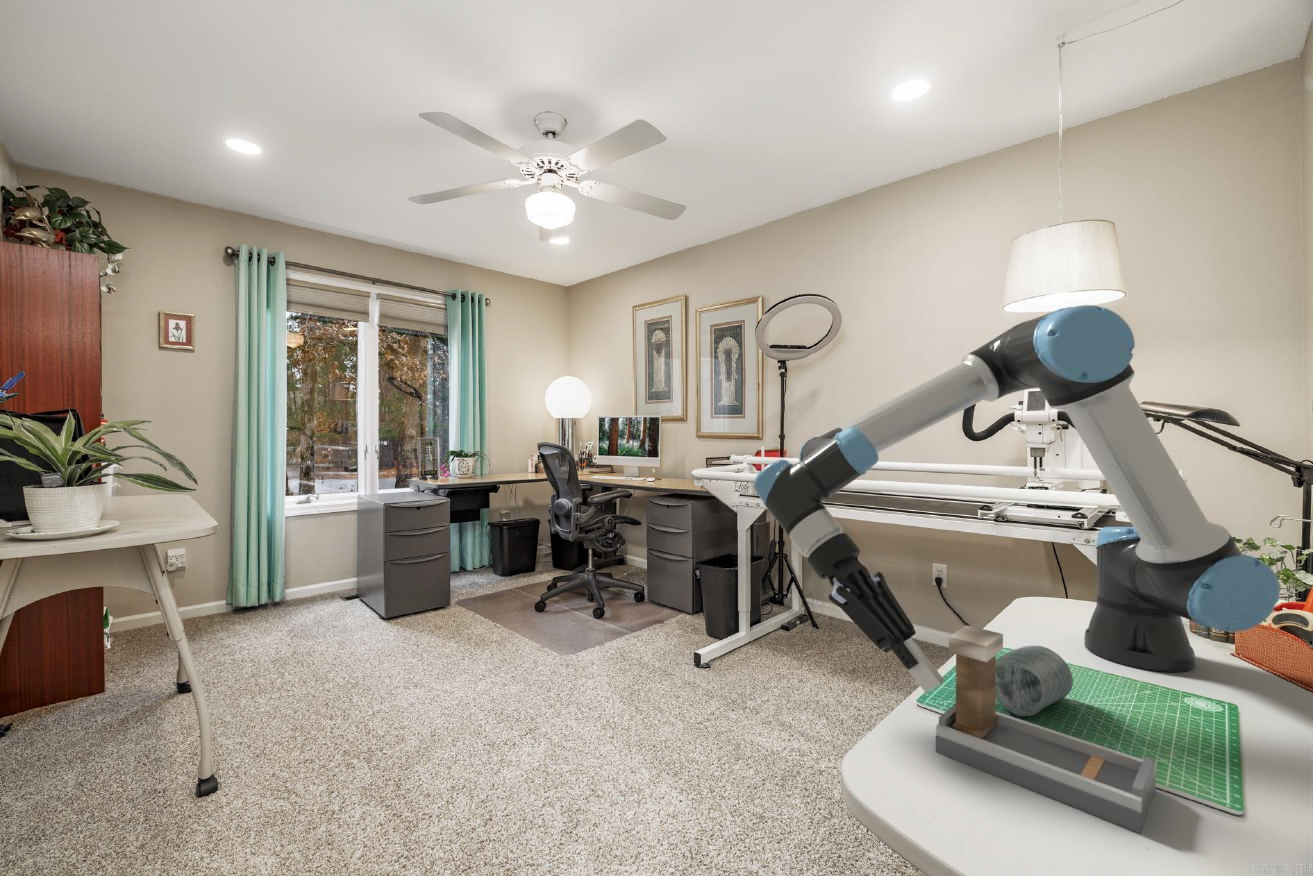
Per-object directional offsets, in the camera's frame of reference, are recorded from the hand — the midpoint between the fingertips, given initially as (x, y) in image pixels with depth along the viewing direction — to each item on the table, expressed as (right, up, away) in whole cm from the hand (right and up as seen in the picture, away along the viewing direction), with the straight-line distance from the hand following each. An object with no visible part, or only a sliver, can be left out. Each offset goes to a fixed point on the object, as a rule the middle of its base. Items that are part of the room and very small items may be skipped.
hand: (935, 686), depth 77 cm
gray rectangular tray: (+8, -6, -9) cm, 14 cm away
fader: (+3, -4, -4) cm, 6 cm away
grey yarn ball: (+18, -6, +7) cm, 20 cm away
